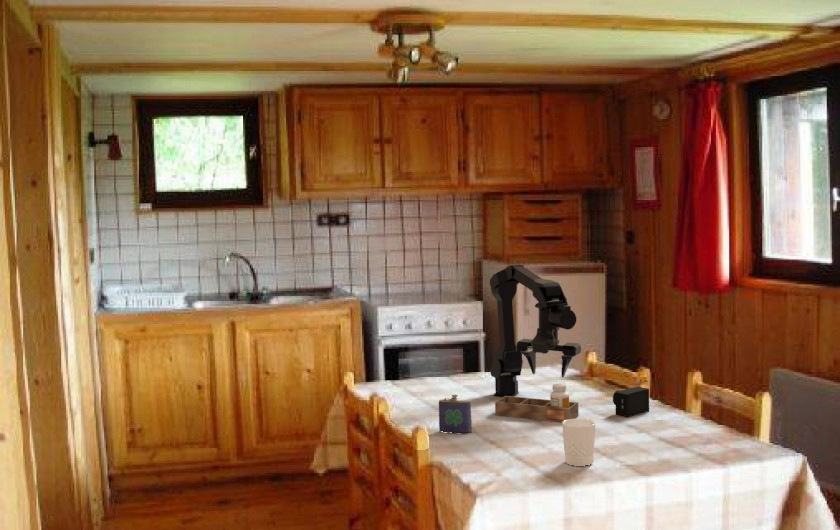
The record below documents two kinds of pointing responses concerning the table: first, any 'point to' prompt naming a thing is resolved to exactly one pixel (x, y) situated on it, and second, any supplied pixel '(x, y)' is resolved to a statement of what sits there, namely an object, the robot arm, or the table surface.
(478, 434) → the table surface
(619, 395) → the digital camera
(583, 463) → the white cup
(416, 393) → the table surface
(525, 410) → the bottle rack
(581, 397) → the table surface
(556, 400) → the supplement bottle
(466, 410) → the flask
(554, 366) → the table surface
